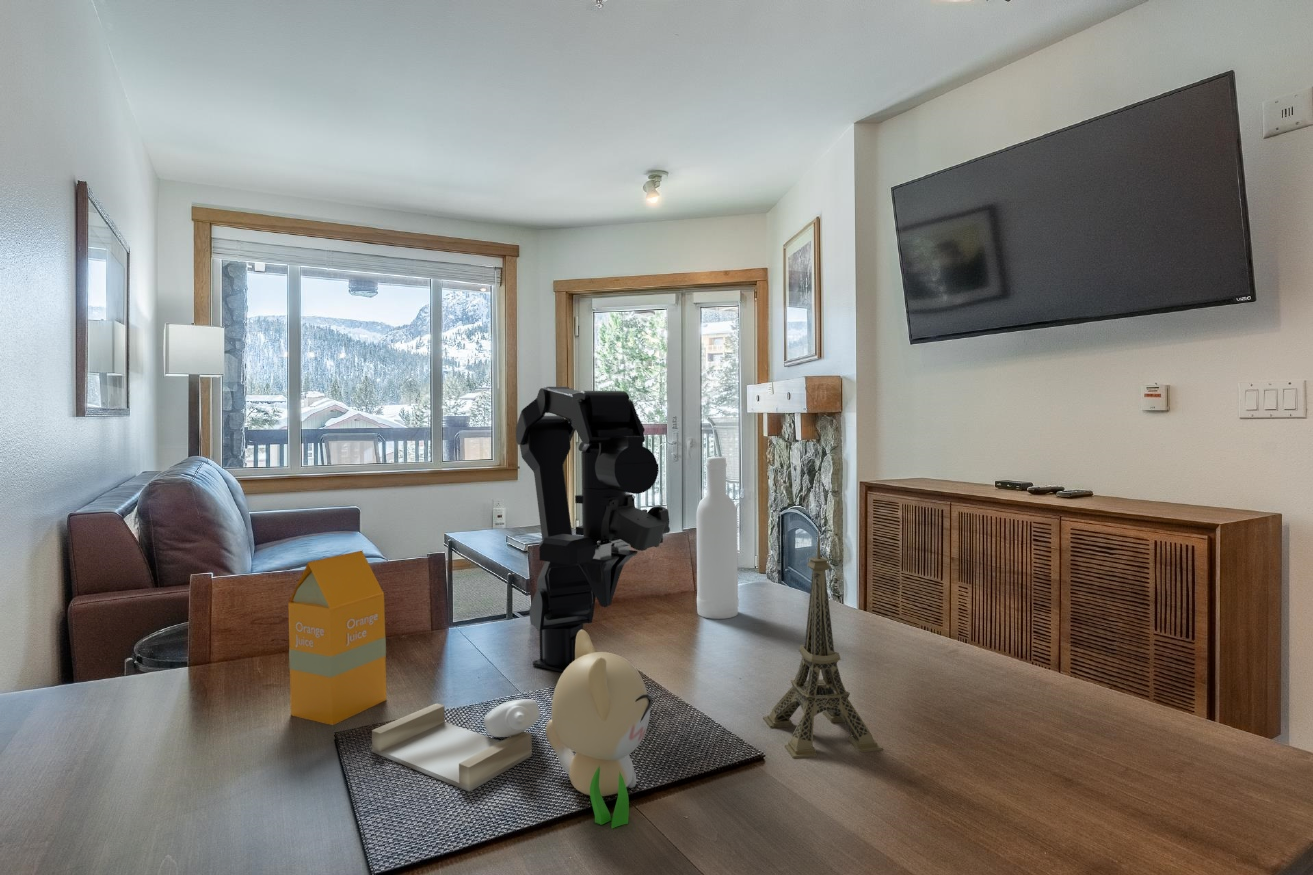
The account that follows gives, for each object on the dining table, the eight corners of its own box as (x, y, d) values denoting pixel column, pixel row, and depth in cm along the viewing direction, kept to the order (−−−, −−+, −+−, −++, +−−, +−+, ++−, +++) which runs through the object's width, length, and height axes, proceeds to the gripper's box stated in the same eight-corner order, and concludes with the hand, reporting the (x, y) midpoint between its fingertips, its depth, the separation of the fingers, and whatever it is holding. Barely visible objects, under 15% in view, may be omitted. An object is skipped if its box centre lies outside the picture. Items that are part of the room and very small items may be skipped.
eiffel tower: (882, 750, 80) (881, 528, 79) (793, 758, 78) (791, 532, 77) (842, 712, 90) (841, 516, 89) (763, 719, 88) (761, 519, 88)
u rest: (372, 751, 80) (371, 730, 80) (436, 723, 88) (436, 703, 88) (469, 791, 71) (468, 767, 71) (531, 755, 79) (531, 733, 79)
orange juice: (387, 699, 95) (384, 552, 95) (332, 725, 87) (329, 564, 87) (345, 690, 99) (342, 548, 98) (289, 715, 91) (285, 559, 90)
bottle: (694, 618, 132) (693, 458, 132) (699, 607, 140) (697, 456, 139) (737, 620, 131) (736, 458, 130) (739, 608, 139) (738, 456, 138)
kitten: (673, 821, 66) (671, 661, 66) (566, 840, 63) (563, 673, 63) (632, 749, 80) (631, 618, 80) (544, 762, 77) (541, 626, 77)
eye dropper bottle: (527, 739, 85) (542, 743, 74) (480, 733, 84) (489, 737, 73) (534, 701, 87) (550, 699, 76) (488, 694, 85) (498, 692, 75)
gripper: (605, 497, 80) (607, 634, 80) (694, 484, 95) (695, 599, 95) (535, 492, 86) (537, 619, 87) (629, 480, 101) (630, 588, 102)
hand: (605, 606), depth 92 cm, fingers closed
